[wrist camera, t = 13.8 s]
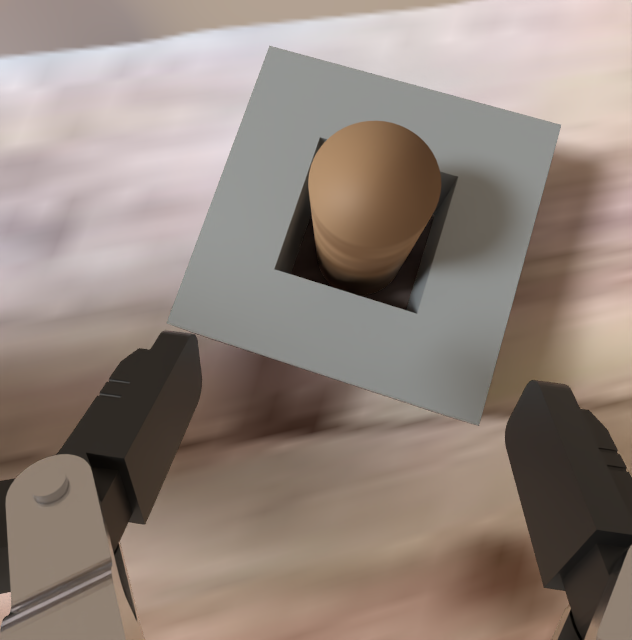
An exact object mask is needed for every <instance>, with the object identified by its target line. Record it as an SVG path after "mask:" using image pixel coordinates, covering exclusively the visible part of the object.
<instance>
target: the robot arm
mask: <svg viewBox="0 0 632 640" xmlns="http://www.w3.org/2000/svg"><path fill="white" fill-rule="evenodd" d="M201 388H202V375H201V366H200V357H199V349H198V340H197V337H196V335H195V334H189V333H181V332H174V331H166V330H165V331H163V332H161V334H160V335H159V337H158V338H157V340H156V341H155V343H154V345H153V346H152V348H151V349H150V350H148V349H140V348H139V349H137V350H136V351H135V352H133V353H132V354H131V355H129V356H128V357H127V358H125V359H124V360H122V361H121V362H120V364H119V365H118V366H117V368H116V369H115V371H114V372H113V374H112V375H111V377H110V378H109V382H107V383H106V384H105V385H104V387H103V388H102V390H101V391H100V395H99V396H97V397H96V399H95V400H94V401H93V403H92V404H91V406H90V407H89V409H88V410H87V412H86V413H85V415H84V416H83V418H82V419H81V420H80V422H79V423H78V425H77V426H76V428H75V429H74V431H73V432H72V434H71V435H70V437H69V438H68V439H67V441H66V442H65V444H64V445H63V447H62V448H61V449H60V451H59V452H58V453H57V454H56V455H54V456H50V457H47V458H44V459H42V460H39V461H37V462H36V463H34V464H32V465H30V466H29V467H28V468H26V469H25V470H24V471H23V472H21V473H20V474H19V475H18V477H17V478H15V479H10V480H4V481H0V594H2V593H7V592H11V611H10V614H9V615H8V616H6V617H5V618H4V619H3V621H2V624H1V629H0V640H145V637H144V634H143V631H142V627H141V624H140V620H139V616H138V612H137V608H136V604H135V600H134V596H133V592H132V588H131V584H130V580H129V576H128V572H127V568H126V563H125V559H124V555H123V551H122V547H121V543H120V539H121V537H122V535H123V533H124V530H125V528H126V526H127V524H128V522H132V523H138V524H146V521H147V519H148V517H149V514H150V512H151V510H152V507H153V505H154V503H155V501H156V498H157V496H158V494H159V491H160V489H161V487H162V484H163V482H164V480H165V478H166V475H167V473H168V471H169V468H170V466H171V464H172V461H173V459H174V457H175V454H176V452H177V450H178V448H179V445H180V443H181V441H182V438H183V436H184V434H185V431H186V429H187V427H188V425H189V422H190V420H191V418H192V415H193V413H194V411H195V408H196V406H197V404H198V401H199V398H200V394H201ZM505 444H506V449H507V453H508V457H509V460H510V464H511V468H512V471H513V475H514V479H515V483H516V486H517V490H518V494H519V497H520V501H521V505H522V508H523V512H524V516H525V519H526V523H527V527H528V531H529V534H530V538H531V542H532V545H533V549H534V553H535V556H536V560H537V564H538V567H539V571H540V575H541V579H542V582H543V586H544V588H550V589H556V590H563V591H566V594H567V598H568V601H569V604H570V605H569V606H568V607H566V609H565V610H564V612H563V614H562V617H561V619H560V621H559V623H558V626H557V628H556V630H555V632H554V635H553V637H552V639H551V640H632V477H631V475H630V473H629V472H627V471H626V468H627V467H626V465H625V463H624V461H623V459H622V458H621V456H620V454H618V453H617V451H618V450H617V448H616V446H615V444H614V442H613V440H612V438H611V436H610V434H609V432H608V430H607V429H606V428H605V427H604V425H603V424H602V423H601V422H600V421H599V420H598V419H597V418H596V417H595V416H594V415H593V414H592V413H591V412H590V411H589V410H585V409H580V407H579V405H578V403H577V401H576V399H575V397H574V395H573V393H572V391H571V389H570V388H569V386H567V385H565V384H558V383H551V382H543V381H536V380H532V381H530V382H529V383H528V384H527V385H526V387H525V389H524V391H523V393H522V395H521V397H520V399H519V401H518V403H517V405H516V407H515V409H514V411H513V412H512V414H511V416H510V418H509V420H508V423H507V426H506V431H505Z"/></svg>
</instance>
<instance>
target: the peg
mask: <svg viewBox="0 0 632 640" xmlns="http://www.w3.org/2000/svg"><path fill="white" fill-rule="evenodd" d="M308 188H309V196H310V205H311V213H312V221H313V229H314V237H315V245H316V254H317V261H318V265H319V268H320V271H321V273H322V275H323V276H324V278H325V279H326V280H327V281H328V282H329V283H330V284H331V285H332V286H333V287H334V288H336V289H339V290H343V291H346V292H349V293H352V294H355V295H369V294H372V293H375V292H378V291H380V290H382V289H383V288H385V287H386V286H387V285H389V284H390V282H391V281H392V280H393V279H394V278H395V276H396V275H397V273H398V271H399V270H400V268H401V266H402V265H403V263H404V261H405V260H406V258H407V256H408V255H409V253H410V251H411V250H412V248H413V246H414V245H415V243H416V241H417V240H418V238H419V236H420V235H421V233H422V231H423V230H424V228H425V226H426V225H427V223H428V221H429V220H430V218H431V216H432V215H433V213H434V211H435V209H436V207H437V204H438V201H439V197H440V193H441V174H440V169H439V166H438V163H437V160H436V158H435V156H434V154H433V152H432V151H431V149H430V148H429V147H428V145H427V144H426V143H425V142H424V141H423V140H422V139H421V138H420V137H419V136H418V135H416V134H415V133H413V132H412V131H410V130H409V129H407V128H405V127H403V126H400V125H397V124H394V123H390V122H386V121H364V122H359V123H355V124H352V125H349V126H347V127H345V128H343V129H341V130H339V131H337V132H336V133H335V134H333V135H332V136H331V137H329V138H328V139H327V140H326V141H325V142H324V143H323V145H322V146H321V147H320V149H319V150H318V152H317V153H316V155H315V157H314V159H313V162H312V164H311V168H310V172H309V179H308Z"/></svg>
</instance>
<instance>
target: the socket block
mask: <svg viewBox="0 0 632 640" xmlns="http://www.w3.org/2000/svg"><path fill="white" fill-rule="evenodd" d="M364 121H386V122H390V123H394V124H397V125H400V126H403V127H405V128H407V129H409V130H410V131H412V132H413V133H415V134H416V135H418V136H419V137H420V138H421V139H422V140H423V141H424V142H425V143H426V144H427V145H428V147H429V148H430V149H431V151H432V152H433V154H434V156H435V158H436V160H437V163H438V166H439V169H440V174H441V193H440V197H439V201H438V204H437V207H436V209H435V211H434V213H433V215H435V216H434V219H433V223H432V226H431V229H430V232H429V236H428V239H427V242H426V246H425V249H424V252H423V255H422V259H421V262H420V265H419V269H418V272H417V275H416V278H415V282H414V285H413V288H412V292H411V295H410V298H409V301H408V305H407V308H406V310H403V309H400V308H397V307H394V306H391V305H387V304H384V303H381V302H378V301H375V300H371V299H368V298H365V297H362V296H359V295H355V294H352V293H349V292H346V291H343V290H339V289H336V288H333V287H330V286H327V285H323V284H320V283H317V282H314V281H310V280H307V279H304V278H301V277H298V276H294V275H291V272H292V269H293V266H294V263H295V261H296V258H297V255H298V252H299V249H300V246H301V243H302V240H303V237H304V234H305V231H306V228H307V225H308V222H309V219H310V217H311V214H312V213H311V205H310V196H309V188H308V179H309V172H310V168H311V164H312V162H313V159H314V157H315V155H316V153H317V152H318V150H319V149H320V147H321V146H322V145H323V143H324V142H325V141H326V140H327V139H328V138H329V137H331V136H332V135H333V134H335V133H336V132H337V131H339V130H341V129H343V128H345V127H347V126H349V125H352V124H355V123H359V122H364ZM560 128H561V125H560V124H556V123H552V122H548V121H545V120H541V119H537V118H534V117H530V116H526V115H523V114H519V113H515V112H512V111H508V110H504V109H501V108H497V107H493V106H489V105H486V104H482V103H478V102H475V101H471V100H467V99H464V98H460V97H456V96H453V95H449V94H445V93H442V92H438V91H434V90H430V89H427V88H423V87H419V86H416V85H412V84H408V83H405V82H401V81H397V80H394V79H390V78H386V77H383V76H379V75H375V74H372V73H368V72H364V71H360V70H357V69H353V68H349V67H346V66H342V65H338V64H335V63H331V62H327V61H324V60H320V59H316V58H313V57H309V56H305V55H301V54H298V53H294V52H290V51H287V50H283V49H279V48H276V47H272V46H269V49H268V52H267V54H266V57H265V60H264V62H263V65H262V68H261V70H260V73H259V76H258V79H257V81H256V84H255V87H254V89H253V92H252V95H251V97H250V100H249V103H248V105H247V108H246V111H245V114H244V116H243V119H242V122H241V124H240V127H239V130H238V132H237V135H236V138H235V140H234V143H233V146H232V149H231V151H230V154H229V157H228V159H227V162H226V165H225V167H224V170H223V173H222V175H221V178H220V181H219V183H218V186H217V189H216V192H215V194H214V197H213V200H212V202H211V205H210V208H209V210H208V213H207V216H206V218H205V221H204V224H203V227H202V229H201V232H200V235H199V237H198V240H197V243H196V245H195V248H194V251H193V253H192V256H191V259H190V262H189V264H188V267H187V270H186V272H185V275H184V278H183V280H182V283H181V286H180V288H179V291H178V294H177V296H176V299H175V302H174V305H173V307H172V310H171V313H170V315H169V318H168V321H167V324H170V325H173V326H176V327H178V328H181V329H184V330H187V331H190V332H192V333H195V334H198V335H201V336H204V337H207V338H210V339H213V340H216V341H219V342H222V343H225V344H228V345H231V346H234V347H237V348H241V349H244V350H247V351H250V352H253V353H256V354H259V355H262V356H265V357H268V358H271V359H274V360H277V361H280V362H283V363H286V364H289V365H292V366H295V367H298V368H301V369H304V370H308V371H311V372H314V373H317V374H320V375H323V376H326V377H329V378H332V379H335V380H338V381H341V382H344V383H347V384H350V385H353V386H356V387H359V388H362V389H365V390H368V391H371V392H375V393H378V394H381V395H384V396H387V397H390V398H393V399H396V400H399V401H402V402H405V403H408V404H411V405H414V406H417V407H420V408H423V409H426V410H429V411H432V412H435V413H438V414H442V415H445V416H448V417H451V418H454V419H458V420H461V421H464V422H468V423H471V424H474V425H478V426H479V424H480V420H481V416H482V413H483V409H484V405H485V402H486V398H487V395H488V391H489V387H490V384H491V380H492V376H493V373H494V369H495V365H496V362H497V358H498V354H499V351H500V347H501V343H502V340H503V336H504V332H505V329H506V325H507V321H508V318H509V314H510V311H511V307H512V303H513V300H514V296H515V292H516V289H517V285H518V281H519V278H520V274H521V270H522V267H523V263H524V259H525V256H526V252H527V248H528V245H529V241H530V237H531V234H532V230H533V227H534V223H535V219H536V216H537V212H538V208H539V205H540V201H541V197H542V194H543V190H544V186H545V183H546V179H547V175H548V172H549V168H550V164H551V161H552V157H553V153H554V150H555V146H556V143H557V139H558V135H559V132H560Z"/></svg>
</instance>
